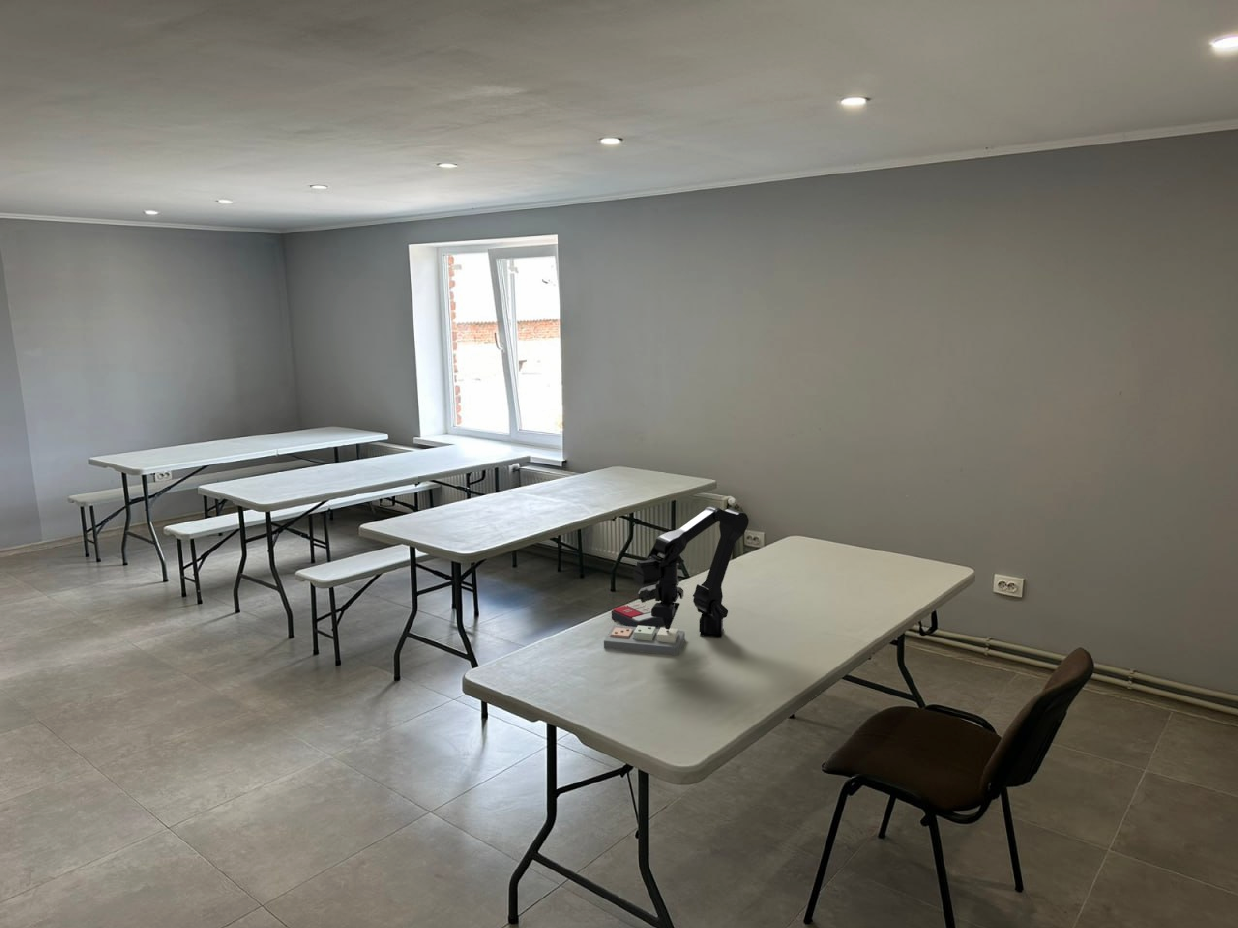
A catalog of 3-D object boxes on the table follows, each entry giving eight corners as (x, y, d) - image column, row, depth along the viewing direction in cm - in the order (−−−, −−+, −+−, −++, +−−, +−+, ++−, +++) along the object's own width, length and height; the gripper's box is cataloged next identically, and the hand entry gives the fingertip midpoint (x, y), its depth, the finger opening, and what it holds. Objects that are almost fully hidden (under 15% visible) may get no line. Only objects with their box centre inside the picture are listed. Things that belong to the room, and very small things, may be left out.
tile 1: (678, 636, 240) (678, 628, 239) (674, 643, 235) (674, 635, 234) (660, 635, 241) (660, 626, 240) (656, 642, 236) (656, 633, 235)
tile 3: (632, 636, 243) (632, 628, 243) (628, 643, 238) (628, 635, 238) (615, 635, 245) (615, 626, 244) (611, 642, 240) (610, 633, 239)
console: (684, 638, 243) (684, 631, 242) (677, 655, 231) (677, 647, 231) (614, 632, 248) (614, 625, 248) (603, 647, 237) (603, 640, 237)
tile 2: (655, 634, 241) (655, 626, 241) (651, 641, 236) (651, 633, 236) (638, 633, 243) (637, 624, 242) (633, 640, 238) (633, 631, 237)
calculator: (638, 601, 266) (666, 612, 253) (638, 613, 266) (666, 625, 254) (610, 608, 259) (638, 620, 247) (611, 620, 260) (638, 633, 248)
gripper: (647, 566, 245) (648, 615, 248) (633, 587, 227) (633, 638, 230) (683, 569, 242) (683, 618, 245) (671, 590, 225) (672, 642, 228)
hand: (667, 628), depth 237 cm, fingers closed
